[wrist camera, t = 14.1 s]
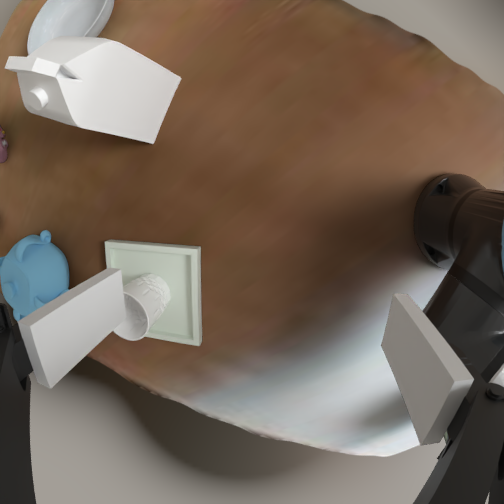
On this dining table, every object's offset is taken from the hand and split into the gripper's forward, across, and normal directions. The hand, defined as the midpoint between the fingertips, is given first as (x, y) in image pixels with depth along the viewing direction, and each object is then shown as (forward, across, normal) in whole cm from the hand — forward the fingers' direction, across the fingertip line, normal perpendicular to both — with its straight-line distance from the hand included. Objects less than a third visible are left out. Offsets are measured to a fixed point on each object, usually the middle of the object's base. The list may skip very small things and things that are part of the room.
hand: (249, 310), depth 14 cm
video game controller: (+32, -62, +16) cm, 72 cm away
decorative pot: (+32, -46, -13) cm, 58 cm away
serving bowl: (+32, -40, +38) cm, 64 cm away
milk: (+32, -24, +18) cm, 44 cm away
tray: (+32, -20, -14) cm, 40 cm away
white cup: (+31, -20, -14) cm, 40 cm away
